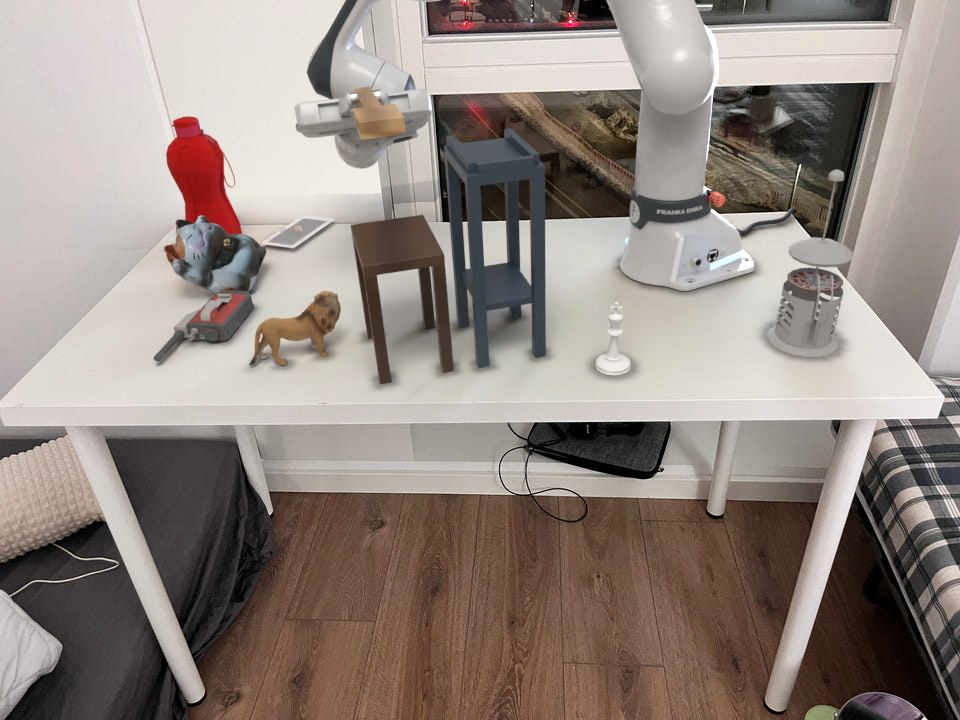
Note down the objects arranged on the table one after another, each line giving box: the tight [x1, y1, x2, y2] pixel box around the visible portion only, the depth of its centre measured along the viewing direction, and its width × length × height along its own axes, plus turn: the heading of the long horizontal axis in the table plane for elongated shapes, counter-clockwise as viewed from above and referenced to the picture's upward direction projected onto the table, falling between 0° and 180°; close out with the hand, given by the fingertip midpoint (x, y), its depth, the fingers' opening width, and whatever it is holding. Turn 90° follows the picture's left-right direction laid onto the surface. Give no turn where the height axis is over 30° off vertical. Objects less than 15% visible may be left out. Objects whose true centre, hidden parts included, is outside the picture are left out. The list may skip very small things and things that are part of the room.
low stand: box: [350, 214, 455, 385], centre depth 107 cm, size 10×14×18 cm
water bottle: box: [165, 116, 243, 235], centre depth 141 cm, size 9×11×25 cm
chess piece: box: [594, 301, 632, 377], centre depth 103 cm, size 5×5×10 cm
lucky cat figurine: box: [163, 215, 267, 294], centre depth 130 cm, size 15×12×14 cm
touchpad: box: [259, 214, 336, 249], centre depth 150 cm, size 8×15×2 cm, turn 158°
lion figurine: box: [248, 290, 342, 367], centre depth 110 cm, size 15×5×9 cm, turn 116°
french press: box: [766, 169, 854, 358], centre depth 102 cm, size 10×12×25 cm
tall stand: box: [443, 127, 547, 369], centre depth 105 cm, size 10×14×29 cm
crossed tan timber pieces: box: [353, 87, 406, 140], centre depth 102 cm, size 6×20×2 cm, turn 14°
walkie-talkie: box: [153, 290, 254, 362], centre depth 118 cm, size 9×4×20 cm
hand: (365, 96), depth 107 cm, fingers closed on crossed tan timber pieces, 2 cm apart
